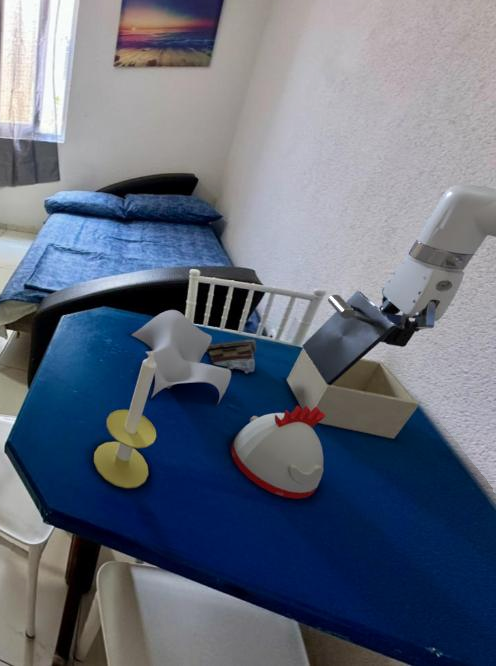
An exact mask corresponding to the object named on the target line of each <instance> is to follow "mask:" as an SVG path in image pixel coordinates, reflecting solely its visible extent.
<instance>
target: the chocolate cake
mask: <svg viewBox="0 0 496 666" xmlns="http://www.w3.org/2000/svg"><path fill="white" fill-rule="evenodd" d="M256 342H257V338H256V339H253V338H252V339H244V340H242V339H241V340H234V341H227V342H218V343H210V345H209V347H208V348H207V350H206V352H205V353H207V354H208V355H209V358H210V360H211V365H214V366H218V367H224V368H226V369H229V370H230V371H231V372H233V371H234V369H235V370H240V371H243V373H244V374H250V373H254V371H255V369H256V360H255V356H254V354H255V353H256V351H257V348H258V346H257V343H256Z"/></svg>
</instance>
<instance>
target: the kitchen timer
mask: <svg viewBox="0 0 496 666" xmlns="http://www.w3.org/2000/svg"><path fill="white" fill-rule="evenodd" d="M325 416H326V415H325V414H324V413H323V412H320V410H319V409H318V408H317V407H315V408H314V409H313V410H312V411H311V412H310V409H309V408H308V407H307V406H305V407H304V408H303V410H302V408H301V406H300V405H296V407H295V408H294V409H293V410H292V412H291V413H290V412H289V411H288V410H287V409H285V411H284V412H275V413H268V414H264V415H261V416H257V415H253V416H252V417H250V419H249V423H248V424H246V425H245V426H244V427H242V429H241V430H240V431H239V432H238V433H237V435H236V437H235V438H234V440H233V442H232V444H231V450H230V451H231V456H232V458H233V461H234V463H235V464H236V466H237V467H238V469H239V470H240V471H241V472H242V473H243V474H244V475H245V476H246V477H247V478H248V479H250V480H251V481H252V482H253V483H255V485H257V486H258V487H260V488H261V489H264V490H266V491H268V492H270V493H271V494H275V495H278V496H281V497H283V498H288V499H294V500H295V499H296V500H298V499H299V500H300V499H305V498H308V497H309V496H311V495H312V494H314V493H315V491H316V489H317V488H318V486H319V484H320V482H321V479H322V477H323V473H324V453H323V446H322V443H321V441H320V438H319V436H318V435H317V433H316V432H315V430H314V426H316V425H317V424H319V423H318V422H319V421H321V420H322V419H323V418H324V417H325Z"/></svg>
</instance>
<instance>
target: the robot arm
mask: <svg viewBox="0 0 496 666" xmlns="http://www.w3.org/2000/svg"><path fill="white" fill-rule="evenodd" d="M488 236H490V237H494V238H496V188H494V187H488V186H484V185H483V186H482V185H477V184H455V185H452V186H450V187H448V188H447V189H446V190H445V192H444V193H443V195H442V196H441V198H440V199H439V201H438V203H437V204H436V206H435V208H434V210H433V211H432V213H431V214H430V216H429V218H428V220H427V221H426V223H425V225H424V226H423V227H422V230H421V231H420V232H419V234H418V236H417V238H416V239H415V241H414V243H413V245H412V246H411V248H410V250H409V251H408V252H407V255H406V256H405V257H404V258H403V260H402V261H401V262H400V263H399V265H398V266H397V267H396V269H395V270H394V272H393V273H392V274H391V276H390V277H389V279H388V281H387V282H386V284H385V286H384V287H382V289H381V293H382V298H381V305H380V306H379V307H378V309H379V310H381V311H382V312H384V313H390V314H397V315H399V313H400V312H401V313H402V314H401V315H402V316H401V319H400V321H399V324H398V326H397V328H395V329H394V330H393V331H392V332H391V333H390V334H389V335H388V336H387V338H386V339H385V341H384V342H385V344H386V345H388V346H389V345H390V346H395V347H402V348H404V347H406V346H407V344H408V343H409V342H410V340H411V339H410V338H413V336H414V334H415V333H418V332H419V331H420V330H421V331H422V330H425V329H426V330H427V329H433V328H434V327H435V322H437V321H439V320H441V319H442V317H443V316H444V315H445V313H446V311H447V310H448V308H449V307H450V305H451V303H452V301H453V300H454V299H455V296H456V294H457V292H458V291H459V288H460V287H461V285H462V281H463V278H464V275H465V272H464V270H465V269H466V267H467V266H468V264H469V263H470V261H471V260H472V259H473V257H474V255H475V254H476V252H478V249H480V247H481V246H482V244H483V242H484V241H485V240H486V238H487V237H488ZM417 313H418V314H417ZM410 319H414V320H410ZM408 320H410V321H411V322H408ZM414 332H415V333H414ZM412 335H413V336H412Z"/></svg>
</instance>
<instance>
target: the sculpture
mask: <svg viewBox="0 0 496 666" xmlns="http://www.w3.org/2000/svg"><path fill="white" fill-rule="evenodd" d="M131 336H132V337H134V338H137V339H138V340H140V341H142V342H144V343H145V344H146V345H147V346H148V347H149V348H151V351H145V353H146V355H147V357H149V356H150V355H151V353H153V354H154V361H155V363H156V365H157V366H156V370H155V373H154V386H153V387H154V388H153V391H152V395H151V397H150V399H152V398H153V397H154V396H155V395H157V394H158V393H159V392H160V391H162V390H163V389H165V388H167V389H170V388H172V387H173V386H175V385H177V384H189V383H207V384H210V385H213V386H214V387H215V388H216V389H217V390H218V393H219V397H218V398H219V399H218V402H217V405H216V406H218V405H219V403H220V401H221V400H222V398H223V397H224V395H225V393H226V391H227V388H228V386H229V384H230V381H231V378H232V371H230V370H229V369H227V367H222V366H218V365H214V364H207V363H203V362H201V360H202V358H203V357H204V355H205V353H207V352H206V350H207V348H208V347H209V345H210V344H212V339H213V337H212V335H210V334H208V333H206V332H205V331H203V330H201V328H199V327H198V326H197V325H196V324H194V323H193V322H192V321H190V319H189V318H188V317H186V315H184V314H183V313H182V312H180V311H178V310H176V309H168V310H164V311H163V312H161V313H159V314H158V315H156V316H155V317H153V318H151V319H150V321H148V322H146V323H145V324H144V325H143V326H142V327H141V328H139V329H138V330H137V331H135V332H133V333H132V334H131ZM153 351H154V352H153Z"/></svg>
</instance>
